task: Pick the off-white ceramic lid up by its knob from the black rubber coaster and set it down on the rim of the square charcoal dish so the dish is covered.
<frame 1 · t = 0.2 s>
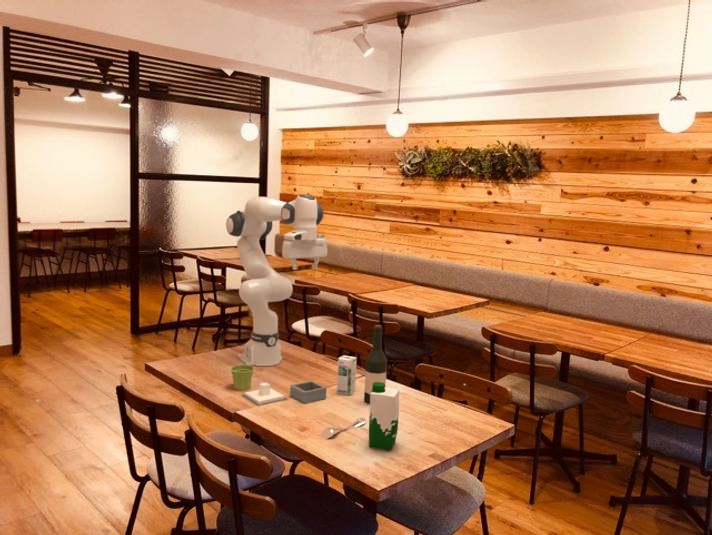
hand: (304, 268, 246), 48 cm above the table, fingers open, 8 cm apart
syrup box: (346, 392, 241), on the table
plant pot: (242, 389, 240), on the table
dish: (307, 398, 232), on the table
milk carton: (382, 445, 194), on the table
lid: (264, 397, 230), point 1 cm above the table, touching coaster
silver spoon: (344, 431, 204), on the table
wine bottle: (374, 402, 232), on the table
coaster: (264, 398, 230), on the table
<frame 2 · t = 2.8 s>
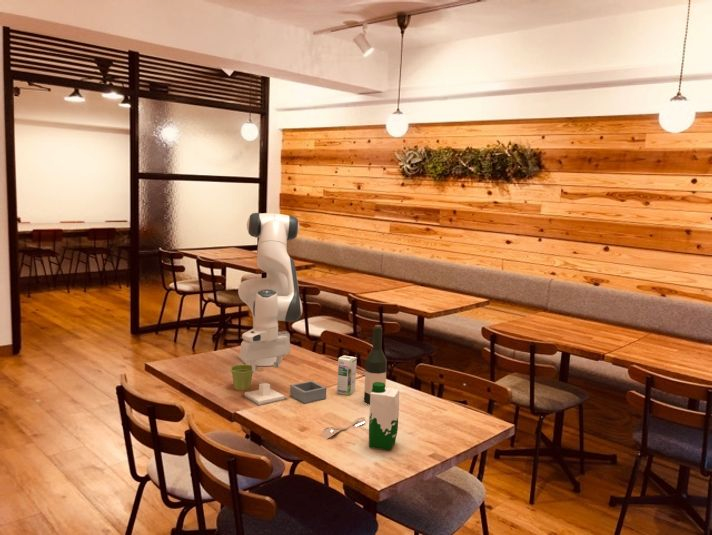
hand: (265, 369, 228), 12 cm above the table, fingers open, 8 cm apart
nothing on the table moved.
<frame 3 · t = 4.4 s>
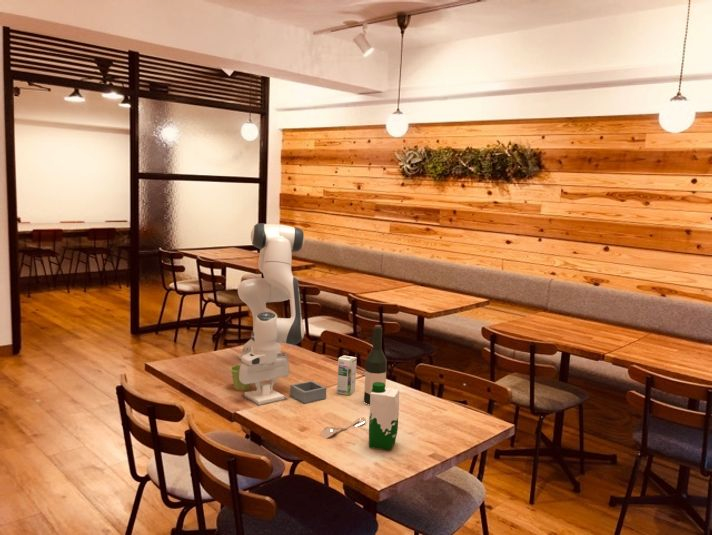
hand: (264, 390, 230), 3 cm above the table, fingers closed on lid, 3 cm apart
lid: (264, 397, 230), point 1 cm above the table, touching coaster, gripper
everything else where it was.
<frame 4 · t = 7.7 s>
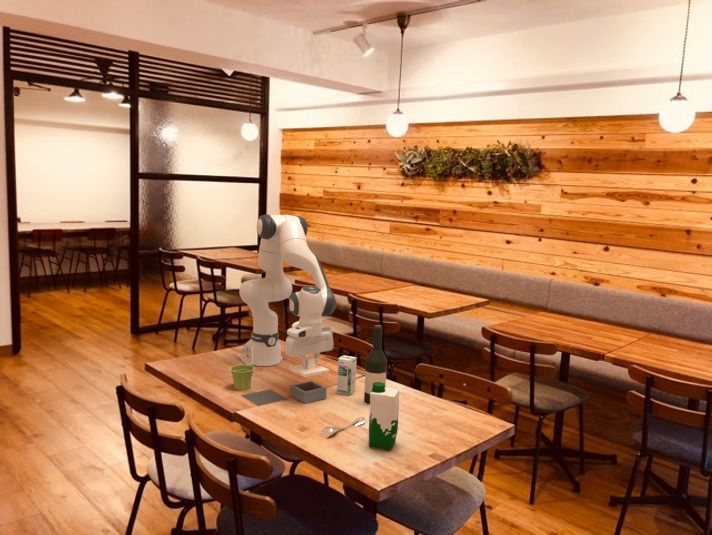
hand: (309, 364, 230), 14 cm above the table, fingers closed on lid, 3 cm apart
lid: (309, 371, 230), point 11 cm above the table, touching gripper
everything else where it was.
when the fingers open (9 cm above the table, at t = 8.8 s): lid drops 1 cm, resting on dish.
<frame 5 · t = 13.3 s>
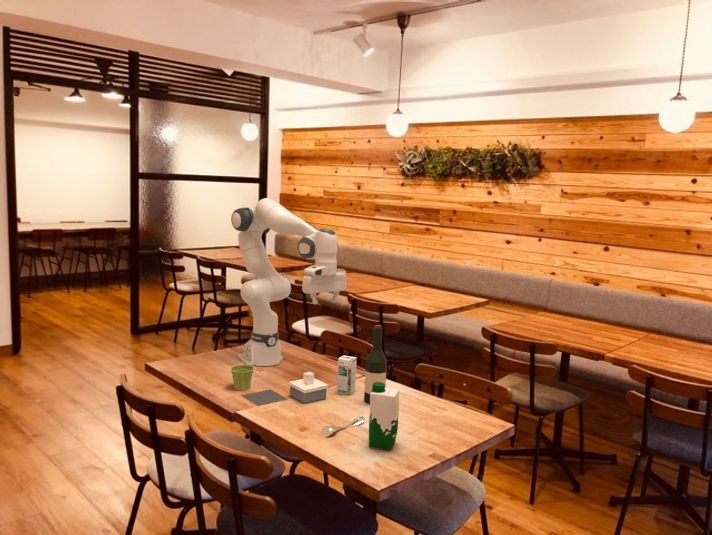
hand: (324, 302, 246), 34 cm above the table, fingers open, 8 cm apart
lid: (308, 386, 231), point 5 cm above the table, touching dish
at the end: lid 0.0 cm off-centre on the dish, point 5.0 cm above the dish's base; lid tilted 0°; the gripper is holding nothing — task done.
